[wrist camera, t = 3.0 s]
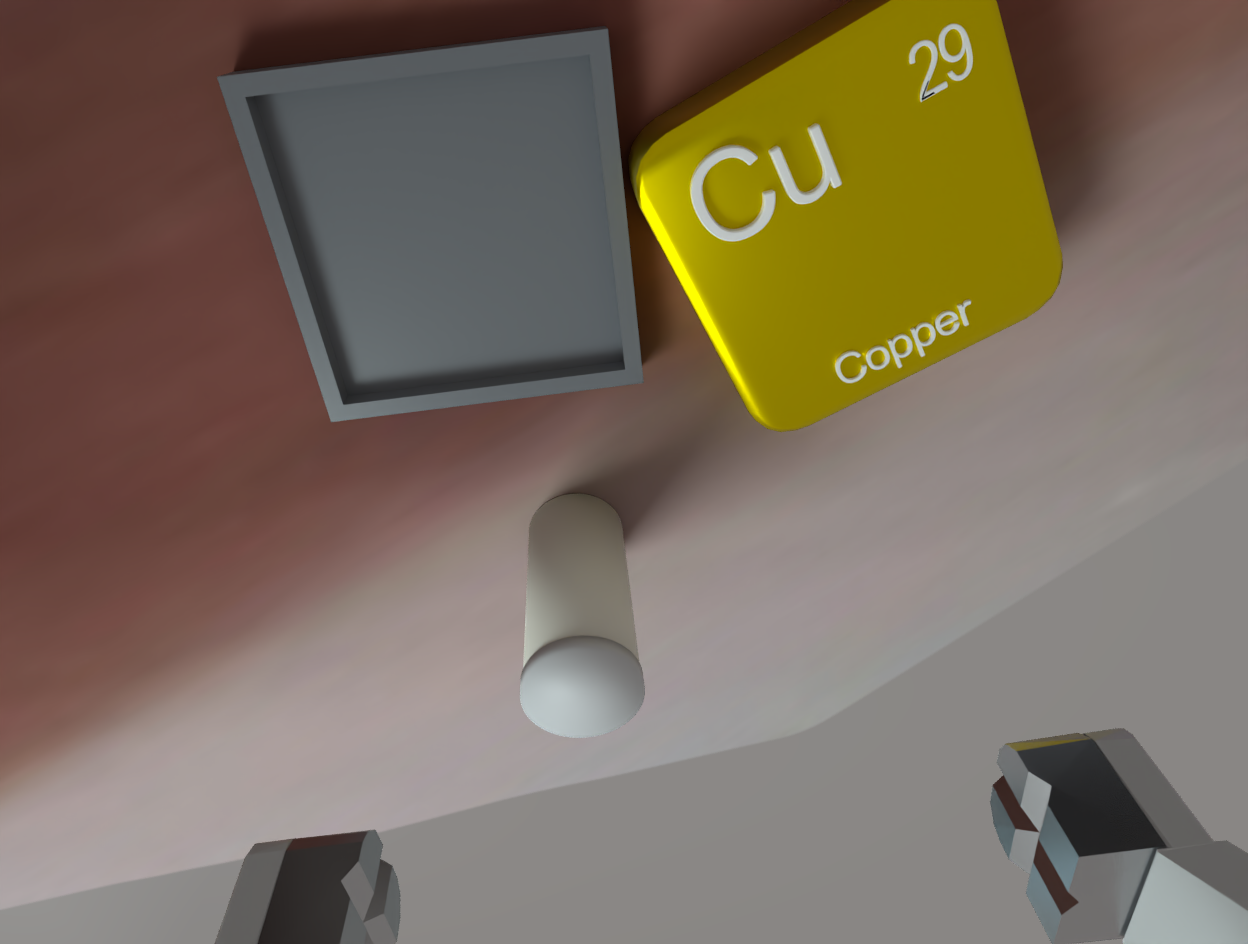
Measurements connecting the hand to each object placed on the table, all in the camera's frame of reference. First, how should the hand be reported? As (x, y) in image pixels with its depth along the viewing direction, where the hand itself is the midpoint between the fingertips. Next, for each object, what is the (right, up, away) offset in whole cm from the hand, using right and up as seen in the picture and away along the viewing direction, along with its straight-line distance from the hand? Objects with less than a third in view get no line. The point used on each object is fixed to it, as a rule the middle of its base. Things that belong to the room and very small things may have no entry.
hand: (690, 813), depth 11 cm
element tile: (+9, +17, +27) cm, 33 cm away
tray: (-8, +15, +26) cm, 31 cm away
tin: (-4, +1, +35) cm, 35 cm away
